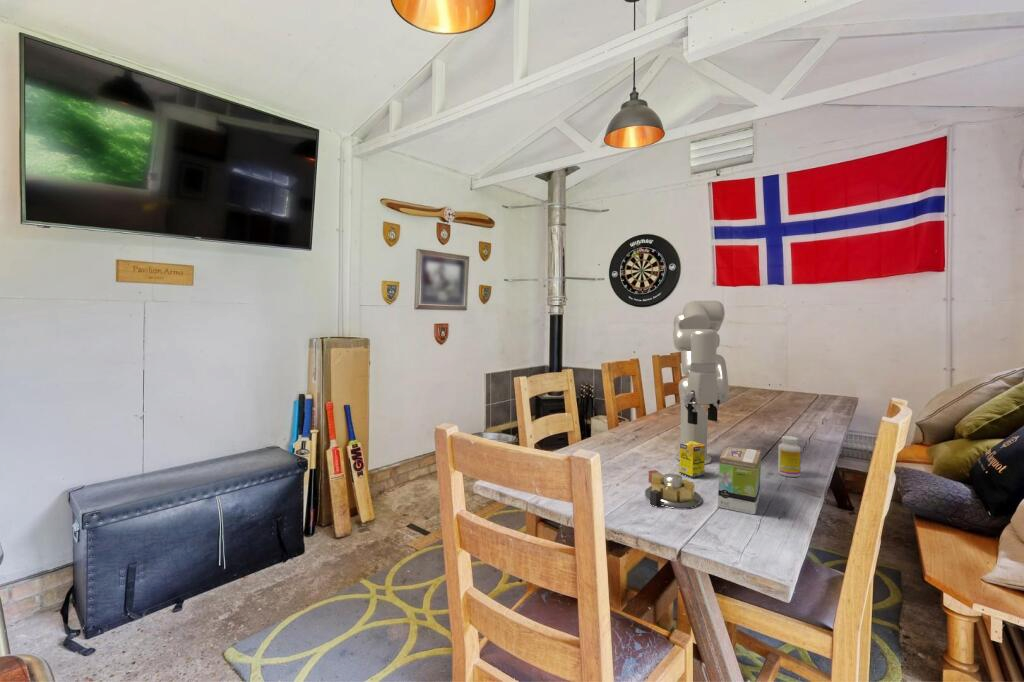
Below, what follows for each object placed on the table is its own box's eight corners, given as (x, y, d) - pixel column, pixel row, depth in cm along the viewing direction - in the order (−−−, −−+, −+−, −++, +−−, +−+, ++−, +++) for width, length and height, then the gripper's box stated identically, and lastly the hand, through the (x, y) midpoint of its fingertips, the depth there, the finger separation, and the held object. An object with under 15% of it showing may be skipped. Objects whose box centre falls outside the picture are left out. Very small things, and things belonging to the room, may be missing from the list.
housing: (630, 492, 143) (630, 471, 142) (677, 485, 148) (678, 465, 148) (661, 512, 127) (662, 489, 127) (713, 504, 133) (714, 482, 132)
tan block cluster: (636, 483, 146) (636, 470, 146) (667, 479, 150) (667, 467, 150) (668, 503, 131) (668, 489, 130) (702, 498, 134) (702, 484, 134)
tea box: (756, 515, 125) (757, 462, 125) (716, 507, 131) (717, 456, 130) (760, 497, 138) (761, 449, 137) (724, 490, 144) (724, 444, 143)
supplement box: (692, 479, 154) (693, 447, 153) (678, 473, 159) (679, 442, 159) (705, 476, 157) (705, 444, 156) (690, 471, 162) (691, 440, 161)
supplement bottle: (803, 478, 154) (804, 440, 153) (781, 477, 155) (782, 439, 155) (795, 471, 161) (796, 435, 160) (774, 470, 162) (775, 434, 161)
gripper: (710, 366, 153) (709, 417, 154) (675, 369, 145) (674, 422, 145) (731, 368, 147) (730, 421, 147) (695, 371, 138) (694, 427, 139)
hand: (702, 422), depth 146 cm, fingers open, 9 cm apart
